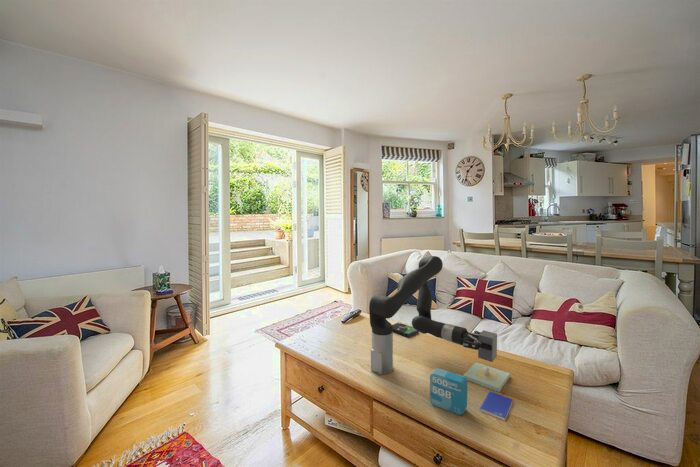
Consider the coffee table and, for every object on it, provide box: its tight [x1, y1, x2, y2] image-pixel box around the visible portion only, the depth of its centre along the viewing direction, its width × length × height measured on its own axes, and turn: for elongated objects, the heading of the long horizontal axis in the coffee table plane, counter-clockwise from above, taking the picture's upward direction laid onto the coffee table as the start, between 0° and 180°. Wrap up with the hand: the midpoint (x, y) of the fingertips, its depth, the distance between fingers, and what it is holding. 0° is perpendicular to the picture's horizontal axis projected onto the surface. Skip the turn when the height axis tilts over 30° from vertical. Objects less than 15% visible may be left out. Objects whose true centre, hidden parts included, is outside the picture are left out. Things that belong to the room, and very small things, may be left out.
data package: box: [429, 368, 468, 416], centre depth 107 cm, size 12×4×12 cm, turn 54°
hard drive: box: [479, 391, 514, 421], centre depth 107 cm, size 2×8×12 cm
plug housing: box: [477, 329, 498, 363], centre depth 124 cm, size 6×6×10 cm
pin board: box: [462, 362, 511, 393], centre depth 125 cm, size 14×14×4 cm
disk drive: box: [392, 322, 420, 339], centre depth 174 cm, size 10×3×15 cm
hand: (494, 345), depth 123 cm, fingers closed on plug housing, 5 cm apart
